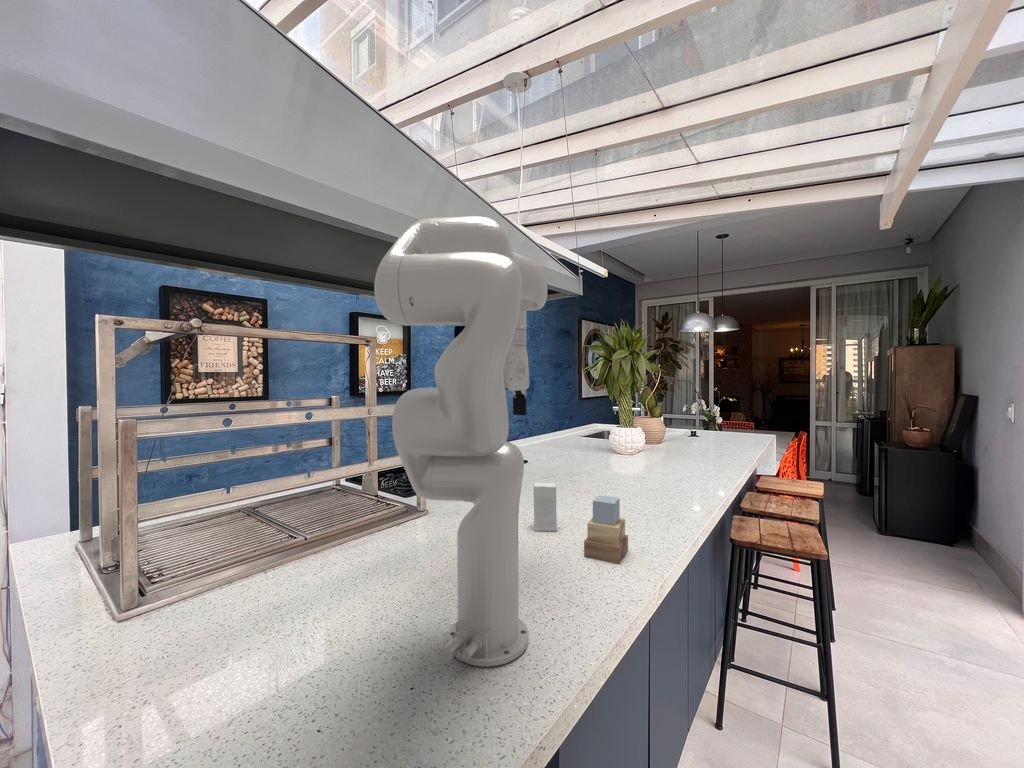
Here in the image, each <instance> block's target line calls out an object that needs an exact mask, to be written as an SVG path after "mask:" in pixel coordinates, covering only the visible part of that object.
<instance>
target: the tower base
mask: <svg viewBox="0 0 1024 768" xmlns="http://www.w3.org/2000/svg"><path fill="white" fill-rule="evenodd" d="M583 546H584V547H583V554H584V555H583V556H584V558H589V559H593V560H597V561H601V562H606V563H611V564H615V565H620V564H621V562H622V561H623V559H624V558H625V556H626V554H627V553H628V552H629V535H627V534H625V536H624V538H623V539H622V541H621V543H620V544H619V546H615V545H609V544H604V543H598V542H593V541H587V537H586V538H585V539H584V541H583Z"/></svg>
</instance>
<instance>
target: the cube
mask: <svg viewBox="0 0 1024 768" xmlns="http://www.w3.org/2000/svg"><path fill="white" fill-rule="evenodd" d="M620 510H621V507H620V497H617V496H615V497H614V496H608V495H601V494H598V495H597V496H596V497H595V498H594V499H593V500H592V518H593V523H599V524H606V525H612V526H615V525H616V523H617V522H618V520H619V518H620Z"/></svg>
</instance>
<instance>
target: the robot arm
mask: <svg viewBox="0 0 1024 768" xmlns="http://www.w3.org/2000/svg"><path fill="white" fill-rule="evenodd" d="M547 283H548V282H547V277H546V273H545V270H544V268H543V266H542V265H541V264H540V263H539V262H538V261H536V260H534V259H532V258H530V257H526V256H524V255H521V254H519V253H517V252H514V251H513V249H512V246H511V244H510V241H509V239H508V235H507V233H506V231H505V229H504V228H503V227H502V226H501V225H500V224H499V222H497V221H495V220H494V219H492V218H489V217H486V216H480V215H468V216H452V217H451V216H449V217H447V216H446V217H433V218H432V217H431V218H430V217H429V218H423V219H422V218H421V219H419V220H417V221H415V222H414V223H411V224H410V225H409V226H408V227H406V229H405V230H404V231H403V232H402V233H401V234H400V235H399V237H398V238H397V239H396V241H394V243H393V244H392V246H391V247H390V248H389V249H388V251H387V252H386V254H384V256H383V257H382V259H381V261H380V263H379V265H378V267H377V270H376V273H375V278H374V285H373V286H374V289H373V290H374V298H375V299H374V300H375V301H376V302H375V303H376V305H377V308H378V310H379V312H380V314H382V315H383V317H384V318H385V319H386V320H387V321H389V322H391V323H393V324H395V325H400V326H407V327H409V326H410V327H411V326H413V327H414V326H416V327H417V326H457V325H458V326H459V325H465V326H464V328H463V329H462V331H461V332H460V333H458V335H457V336H456V337H454V339H453V340H452V341H451V342H450V343H449V344H448V346H446V348H445V349H444V350H443V352H442V354H441V355H440V357H439V358H438V360H437V362H436V363H435V367H434V373H433V374H434V381H435V385H436V387H420V388H413V389H410V390H407V391H406V392H404V393H402V395H401V396H400V397H399V398H398V399H397V401H396V403H395V405H394V408H393V411H392V420H391V421H392V422H391V426H392V436H393V442H394V446H395V448H396V451H397V453H398V456H399V459H400V461H401V463H402V466H403V468H404V470H405V473H406V476H407V478H408V480H409V482H410V485H411V487H412V489H413V491H414V493H415V494H416V495H417V496H419V497H420V498H422V499H424V500H430V501H431V500H432V501H445V502H446V501H450V502H451V501H452V502H464V503H465V502H466V503H472V504H473V506H472V508H471V509H470V510H469V511H468V512H467V513H465V515H464V517H463V518H462V519H461V521H460V523H459V526H458V529H457V533H456V542H457V543H456V545H457V546H456V549H457V551H456V552H457V553H456V554H457V557H456V559H457V565H456V566H457V567H456V568H457V574H456V577H457V621H455V622H454V623H453V625H452V626H451V627H450V628H449V631H448V634H447V643H446V644H445V645H444V646H443V647H442V648H441V650H440V655H441V657H442V659H443V660H444V661H445V662H450V661H452V660H453V659H454V657H455V658H456V659H457V660H458V661H461V662H462V663H465V664H467V665H471V666H476V667H497V666H502V665H505V664H507V663H510V662H512V661H514V660H515V659H517V658H519V657H520V656H521V655H522V654H523V653H524V652H525V650H526V649H527V646H528V644H529V630H528V627H527V626H526V624H525V623H524V621H523V620H521V619H520V618H519V617H520V616H519V610H520V605H519V513H520V512H519V511H520V501H521V493H522V492H521V491H522V486H523V485H522V484H523V479H524V471H525V470H524V469H525V462H524V456H523V452H522V451H521V449H520V448H519V447H518V446H517V445H516V444H514V443H512V442H510V441H507V440H508V436H509V431H510V429H509V426H510V425H509V424H510V422H509V411H508V401H507V392H508V391H509V392H512V393H513V396H514V397H512V415H514V416H526V415H527V397H528V393H527V392H528V390H529V388H530V369H529V357H528V356H529V355H528V350H527V311H528V312H529V311H534V312H535V311H539V310H541V309H543V308H544V306H545V304H547V303H546V302H547V298H548V284H547Z"/></svg>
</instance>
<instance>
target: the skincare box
mask: <svg viewBox="0 0 1024 768" xmlns="http://www.w3.org/2000/svg"><path fill="white" fill-rule="evenodd" d="M557 521H558V520H557V483H556V482H534V484H533V524H534V525H533V529H534V531H535V532H557V524H558V523H557Z"/></svg>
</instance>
